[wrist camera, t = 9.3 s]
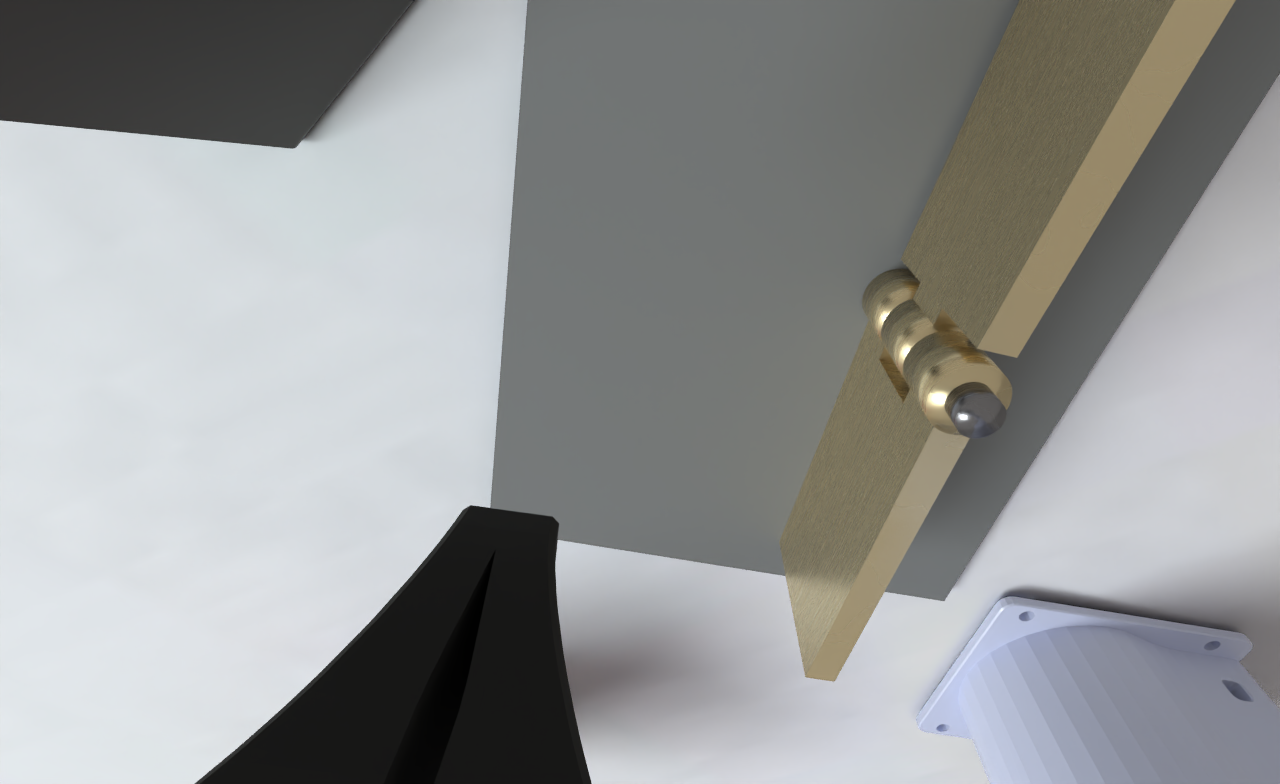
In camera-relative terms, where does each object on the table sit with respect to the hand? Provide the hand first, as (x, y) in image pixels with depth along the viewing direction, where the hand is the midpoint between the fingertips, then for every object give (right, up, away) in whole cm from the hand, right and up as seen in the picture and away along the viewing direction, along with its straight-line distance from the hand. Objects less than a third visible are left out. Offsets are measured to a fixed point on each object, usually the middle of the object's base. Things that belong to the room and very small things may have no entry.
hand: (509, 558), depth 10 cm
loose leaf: (+10, +8, +5) cm, 13 cm away
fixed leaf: (+8, +2, +9) cm, 12 cm away
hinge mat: (+7, +6, +7) cm, 11 cm away
